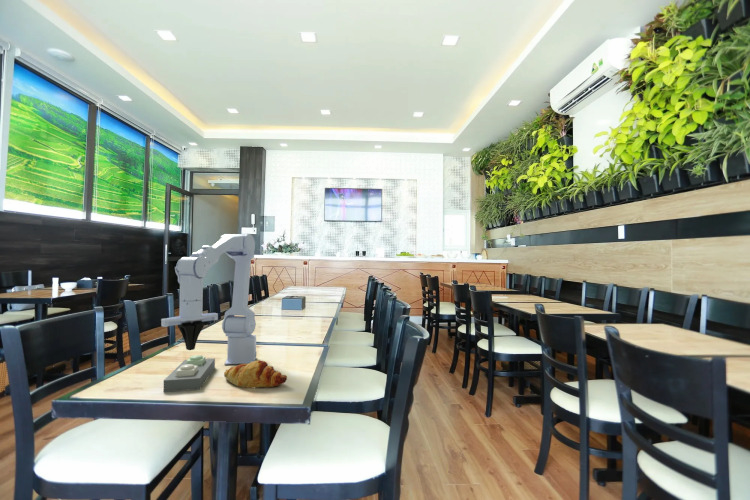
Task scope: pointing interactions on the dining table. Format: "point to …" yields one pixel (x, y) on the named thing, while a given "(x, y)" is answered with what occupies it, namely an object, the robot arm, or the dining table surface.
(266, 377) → the croissant
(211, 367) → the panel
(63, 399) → the dining table surface
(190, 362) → the button
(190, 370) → the button
